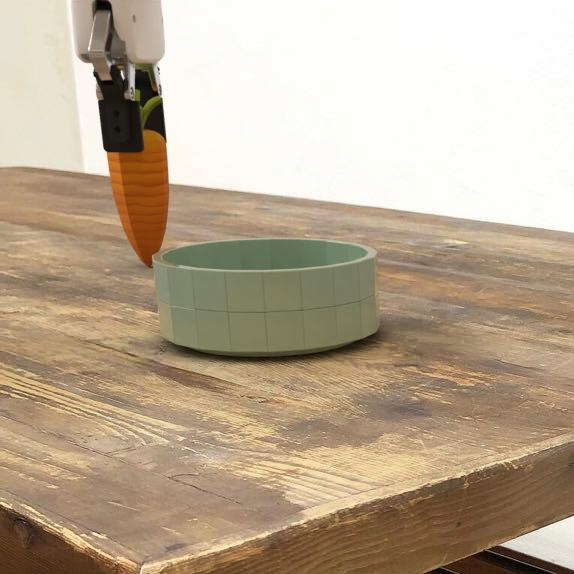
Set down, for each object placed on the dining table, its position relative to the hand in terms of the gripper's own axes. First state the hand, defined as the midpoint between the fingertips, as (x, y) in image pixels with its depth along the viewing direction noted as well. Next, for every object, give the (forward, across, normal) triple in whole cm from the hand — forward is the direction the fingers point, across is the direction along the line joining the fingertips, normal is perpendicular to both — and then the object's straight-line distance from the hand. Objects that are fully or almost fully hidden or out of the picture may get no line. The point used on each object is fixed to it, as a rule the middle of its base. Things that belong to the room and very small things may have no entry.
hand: (136, 146), depth 104 cm
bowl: (+10, +28, +16) cm, 34 cm away
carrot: (+10, 0, 0) cm, 10 cm away
